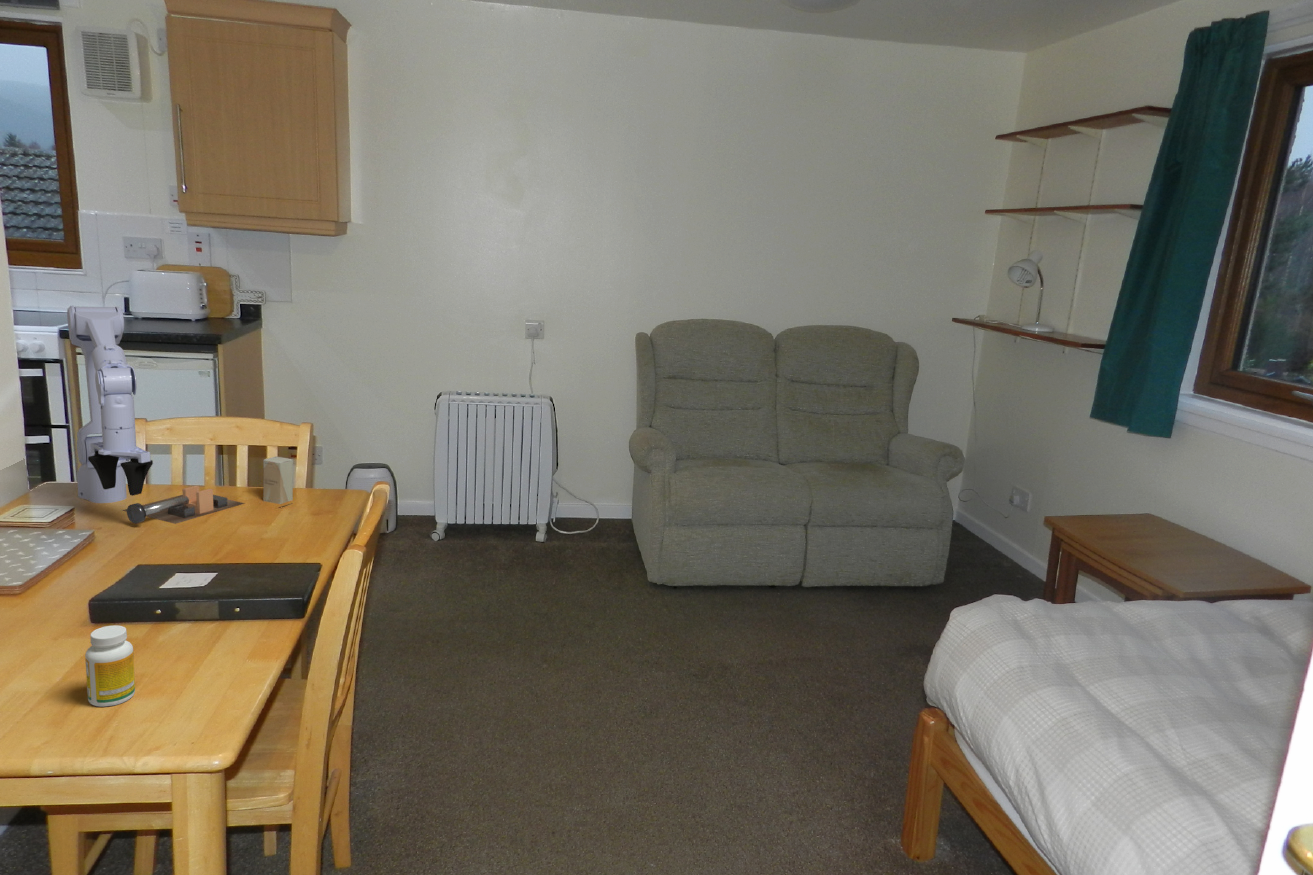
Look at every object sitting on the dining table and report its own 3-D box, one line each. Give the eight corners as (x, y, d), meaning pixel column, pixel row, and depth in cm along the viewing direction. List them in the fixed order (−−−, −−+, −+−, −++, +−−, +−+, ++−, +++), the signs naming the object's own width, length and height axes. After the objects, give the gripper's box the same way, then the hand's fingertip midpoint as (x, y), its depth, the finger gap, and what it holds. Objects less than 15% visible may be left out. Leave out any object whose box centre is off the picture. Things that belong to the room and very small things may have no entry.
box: (262, 504, 196) (261, 459, 194) (275, 500, 200) (275, 455, 198) (281, 508, 195) (280, 462, 192) (294, 503, 199) (293, 458, 196)
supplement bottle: (78, 702, 111) (73, 635, 109) (114, 684, 116) (110, 619, 114) (110, 711, 109) (105, 643, 107) (145, 692, 114) (141, 627, 112)
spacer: (183, 509, 186) (182, 488, 185) (197, 505, 189) (196, 485, 188) (199, 513, 184) (199, 492, 183) (213, 509, 187) (212, 489, 186)
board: (122, 514, 182) (122, 510, 182) (194, 495, 199) (194, 491, 199) (175, 527, 177) (175, 523, 177) (245, 507, 193) (244, 503, 193)
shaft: (127, 521, 173) (126, 502, 172) (179, 507, 184) (179, 489, 183) (141, 524, 171) (140, 506, 171) (193, 510, 183) (192, 492, 182)
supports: (168, 513, 182) (167, 505, 182) (211, 502, 192) (210, 494, 192) (184, 518, 180) (184, 509, 180) (227, 505, 190) (227, 497, 190)
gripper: (73, 424, 167) (78, 489, 170) (125, 434, 163) (129, 501, 165) (107, 419, 174) (111, 482, 177) (158, 429, 169) (161, 493, 172)
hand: (122, 491), depth 171 cm, fingers open, 7 cm apart
